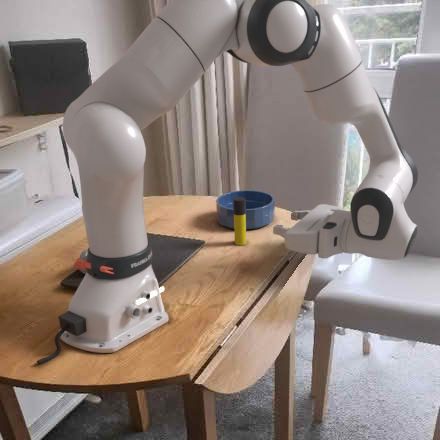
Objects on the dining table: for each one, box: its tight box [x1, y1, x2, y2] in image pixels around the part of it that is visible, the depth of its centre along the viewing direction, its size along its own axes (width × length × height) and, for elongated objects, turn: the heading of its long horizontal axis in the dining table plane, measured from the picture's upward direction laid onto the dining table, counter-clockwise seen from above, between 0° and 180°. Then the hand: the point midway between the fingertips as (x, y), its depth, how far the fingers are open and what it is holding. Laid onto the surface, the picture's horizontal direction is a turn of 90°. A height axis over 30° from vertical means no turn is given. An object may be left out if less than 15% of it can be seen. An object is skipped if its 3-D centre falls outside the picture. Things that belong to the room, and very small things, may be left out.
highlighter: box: [233, 197, 247, 246], centre depth 141 cm, size 3×3×11 cm
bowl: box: [215, 189, 276, 230], centre depth 155 cm, size 15×15×6 cm
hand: (283, 221), depth 135 cm, fingers open, 8 cm apart
